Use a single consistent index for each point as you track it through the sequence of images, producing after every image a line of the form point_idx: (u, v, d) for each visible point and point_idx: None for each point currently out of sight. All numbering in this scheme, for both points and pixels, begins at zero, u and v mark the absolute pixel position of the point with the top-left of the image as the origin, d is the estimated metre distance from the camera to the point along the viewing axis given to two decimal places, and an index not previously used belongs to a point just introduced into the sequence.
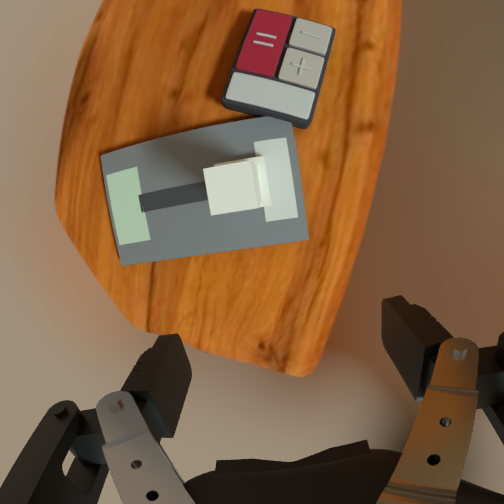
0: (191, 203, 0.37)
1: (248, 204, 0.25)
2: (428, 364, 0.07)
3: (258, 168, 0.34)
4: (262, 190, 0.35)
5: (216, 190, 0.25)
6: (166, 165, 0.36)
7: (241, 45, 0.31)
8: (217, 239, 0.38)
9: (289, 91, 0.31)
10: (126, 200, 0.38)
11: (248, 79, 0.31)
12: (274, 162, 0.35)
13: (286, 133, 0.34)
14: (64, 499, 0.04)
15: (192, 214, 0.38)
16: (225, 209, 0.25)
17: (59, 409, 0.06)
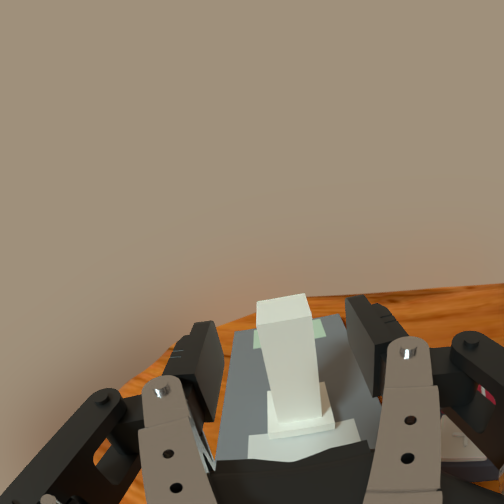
0: None
1: (262, 319, 0.22)
2: (380, 361, 0.08)
3: (317, 418, 0.24)
4: (288, 424, 0.24)
5: (281, 301, 0.24)
6: (326, 354, 0.35)
7: None
8: (239, 394, 0.31)
9: None
10: None
11: None
12: (326, 441, 0.22)
13: None
14: (89, 488, 0.05)
15: None
16: (260, 307, 0.24)
17: (100, 397, 0.07)
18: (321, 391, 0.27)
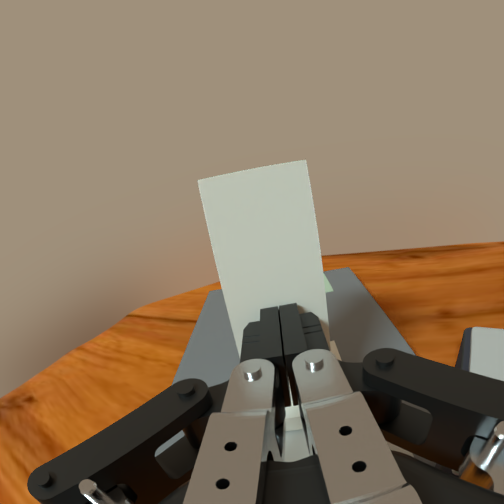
0: None
1: None
2: (293, 371, 0.08)
3: None
4: None
5: None
6: (335, 312, 0.24)
7: None
8: (199, 367, 0.20)
9: None
10: None
11: None
12: None
13: None
14: (141, 479, 0.05)
15: None
16: None
17: (184, 389, 0.07)
18: None
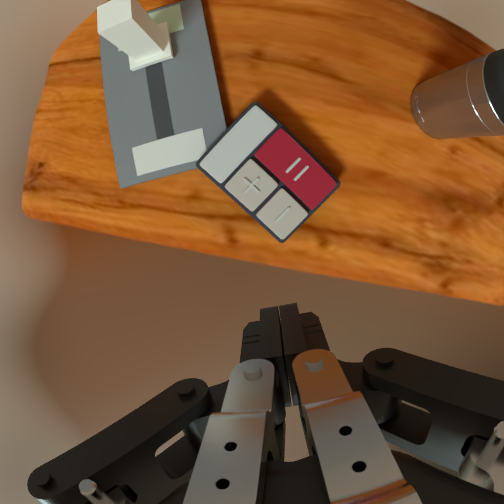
0: (146, 80, 0.34)
1: (101, 26, 0.21)
2: (293, 371, 0.08)
3: (160, 53, 0.32)
4: (142, 59, 0.32)
5: (113, 4, 0.20)
6: (182, 54, 0.33)
7: (303, 146, 0.35)
8: (116, 108, 0.35)
9: (233, 161, 0.35)
10: None
11: (262, 133, 0.34)
12: (183, 148, 0.36)
13: None
14: (141, 479, 0.05)
15: (137, 83, 0.34)
16: (99, 13, 0.21)
17: (184, 389, 0.07)
18: (164, 30, 0.31)
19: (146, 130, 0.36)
